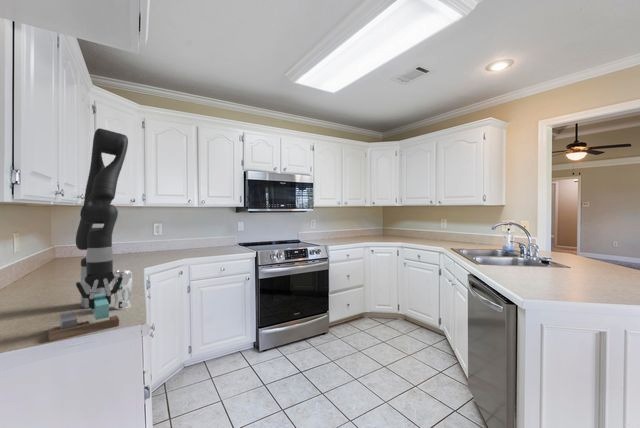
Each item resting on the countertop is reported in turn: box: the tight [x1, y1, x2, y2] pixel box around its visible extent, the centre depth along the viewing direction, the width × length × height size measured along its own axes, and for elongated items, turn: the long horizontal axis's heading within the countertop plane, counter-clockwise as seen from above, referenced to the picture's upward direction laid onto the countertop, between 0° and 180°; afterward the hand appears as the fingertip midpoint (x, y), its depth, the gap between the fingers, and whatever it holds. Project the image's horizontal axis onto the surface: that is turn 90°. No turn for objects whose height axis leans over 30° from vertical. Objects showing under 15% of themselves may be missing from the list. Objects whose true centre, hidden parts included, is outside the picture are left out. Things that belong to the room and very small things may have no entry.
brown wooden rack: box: [47, 314, 120, 343], centre depth 96 cm, size 5×18×2 cm, turn 135°
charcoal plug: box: [59, 311, 78, 330], centre depth 97 cm, size 12×4×5 cm, turn 45°
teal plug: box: [91, 293, 110, 321], centre depth 103 cm, size 12×4×5 cm, turn 46°
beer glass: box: [112, 269, 134, 311], centre depth 120 cm, size 7×7×15 cm
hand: (99, 307), depth 102 cm, fingers closed on teal plug, 3 cm apart
